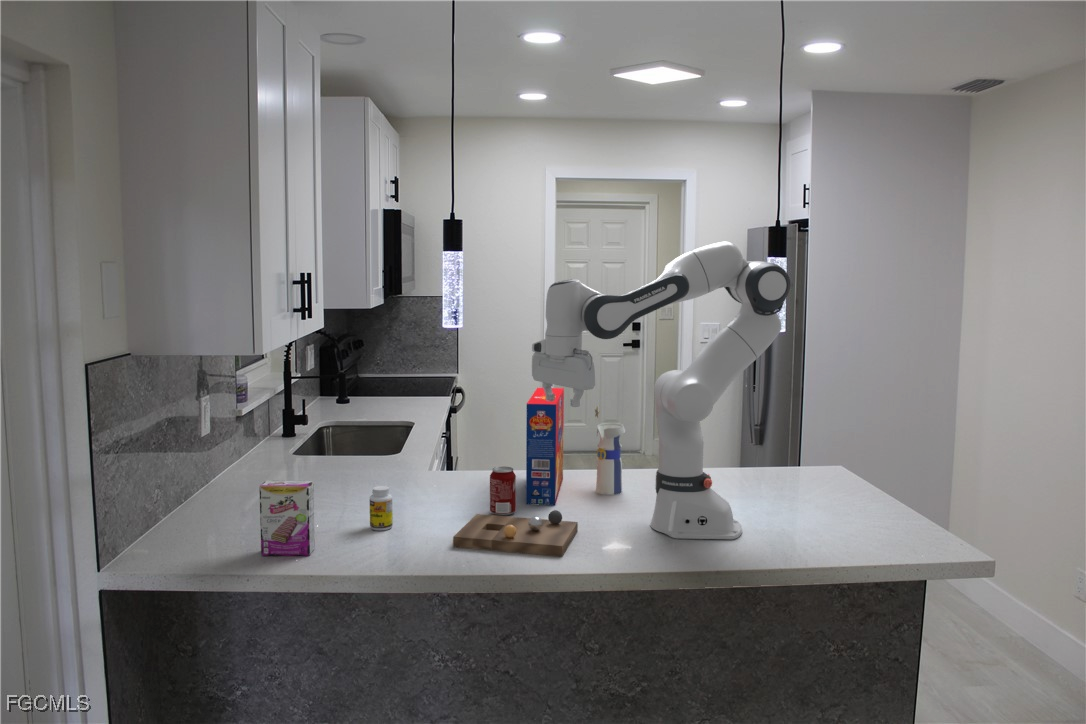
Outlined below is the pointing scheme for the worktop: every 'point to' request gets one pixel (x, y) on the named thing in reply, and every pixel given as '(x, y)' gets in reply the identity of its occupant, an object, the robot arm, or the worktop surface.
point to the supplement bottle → (381, 509)
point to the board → (490, 535)
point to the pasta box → (544, 447)
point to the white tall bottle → (609, 458)
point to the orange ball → (510, 531)
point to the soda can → (502, 491)
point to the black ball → (555, 517)
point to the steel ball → (535, 523)
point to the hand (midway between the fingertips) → (562, 403)
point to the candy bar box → (287, 518)
